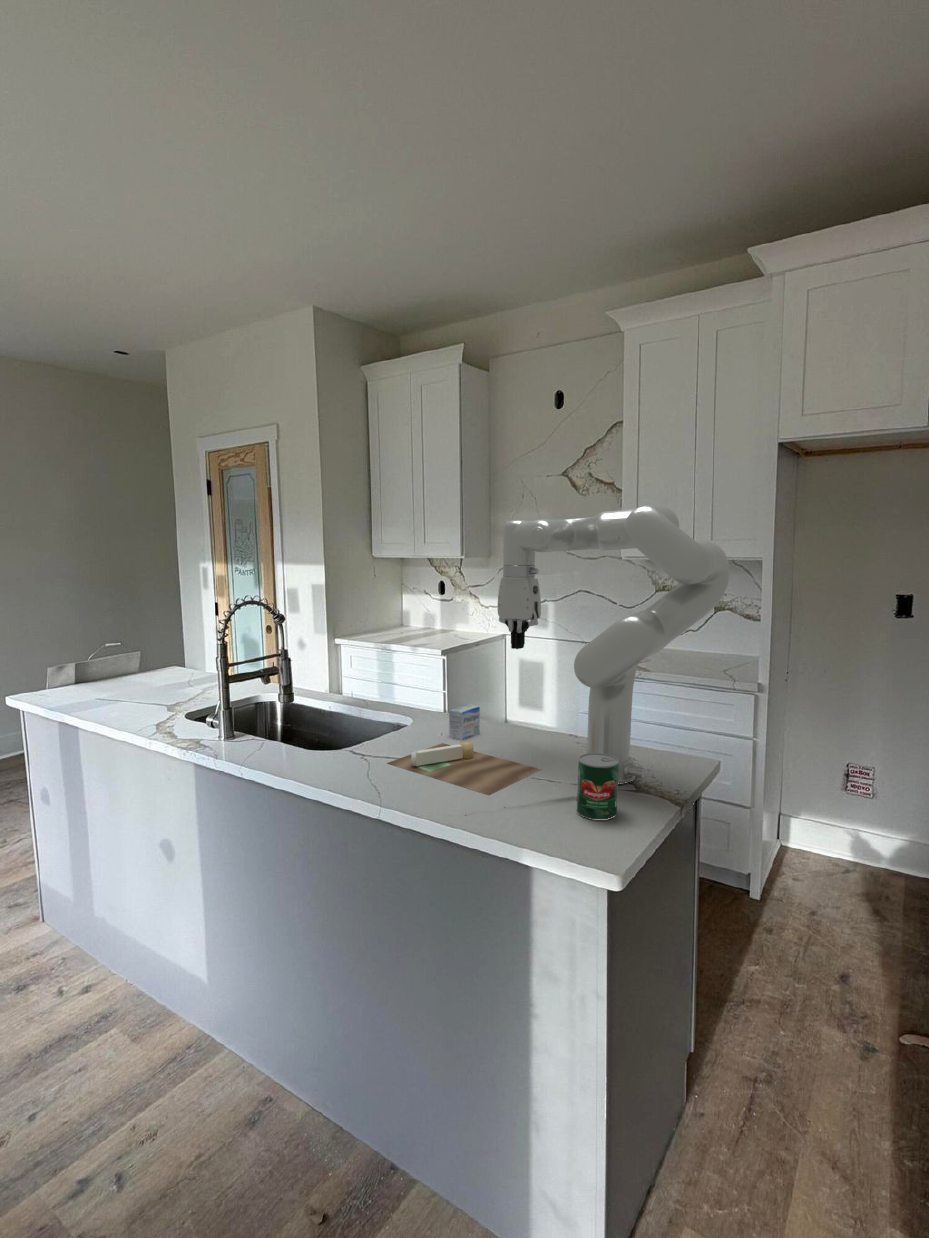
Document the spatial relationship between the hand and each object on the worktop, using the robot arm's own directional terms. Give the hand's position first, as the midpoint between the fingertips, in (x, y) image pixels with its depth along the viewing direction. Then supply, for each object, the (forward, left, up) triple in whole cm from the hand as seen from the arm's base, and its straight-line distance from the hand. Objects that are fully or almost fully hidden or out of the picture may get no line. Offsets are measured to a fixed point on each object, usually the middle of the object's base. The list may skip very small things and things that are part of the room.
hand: (517, 647), depth 167 cm
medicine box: (+18, -2, -27) cm, 33 cm away
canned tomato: (-32, +18, -27) cm, 46 cm away
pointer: (+9, +18, -26) cm, 32 cm away
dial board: (+3, +17, -27) cm, 32 cm away
